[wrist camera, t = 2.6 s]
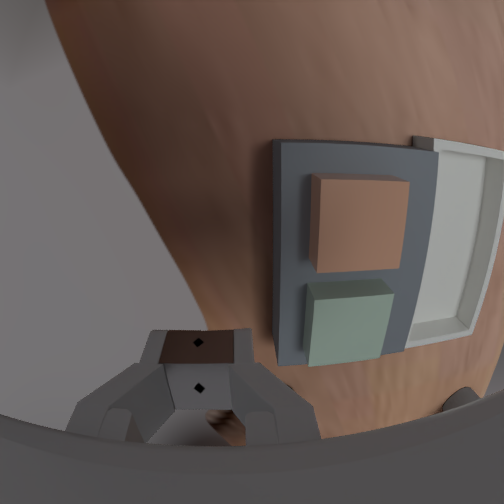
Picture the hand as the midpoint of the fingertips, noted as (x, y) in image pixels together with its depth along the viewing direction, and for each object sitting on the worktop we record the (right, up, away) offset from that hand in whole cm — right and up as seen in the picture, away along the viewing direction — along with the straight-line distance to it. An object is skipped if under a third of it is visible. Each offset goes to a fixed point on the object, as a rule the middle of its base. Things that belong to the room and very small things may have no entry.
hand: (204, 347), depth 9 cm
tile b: (+9, -2, +15) cm, 18 cm away
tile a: (+8, +5, +12) cm, 16 cm away
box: (+21, +4, +19) cm, 28 cm away
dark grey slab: (+9, +4, +18) cm, 21 cm away
